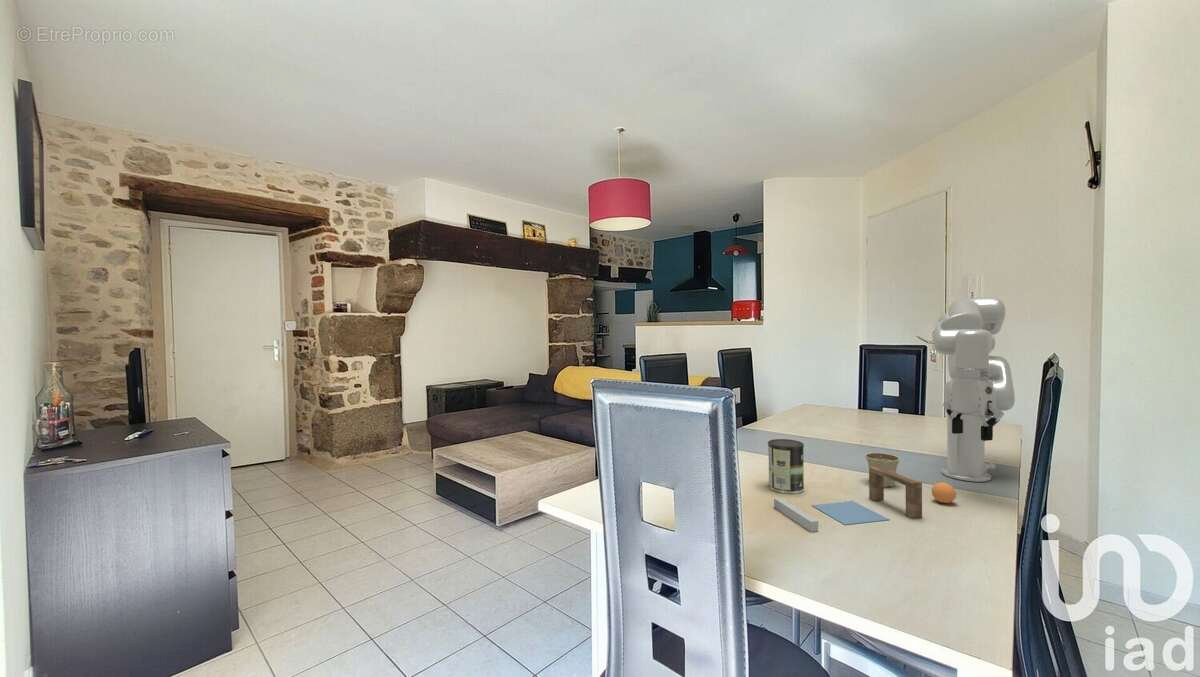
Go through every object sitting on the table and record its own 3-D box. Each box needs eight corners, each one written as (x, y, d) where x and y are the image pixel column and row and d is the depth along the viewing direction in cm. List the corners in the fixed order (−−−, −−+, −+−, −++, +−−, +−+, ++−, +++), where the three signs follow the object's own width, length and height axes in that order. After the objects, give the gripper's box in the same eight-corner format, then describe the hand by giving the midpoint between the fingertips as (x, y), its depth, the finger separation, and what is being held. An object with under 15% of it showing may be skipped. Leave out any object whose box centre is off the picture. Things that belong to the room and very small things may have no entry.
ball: (942, 498, 133) (942, 479, 133) (961, 505, 128) (961, 485, 128) (926, 499, 132) (926, 480, 132) (944, 507, 127) (944, 487, 127)
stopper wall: (780, 506, 129) (780, 497, 129) (818, 531, 114) (818, 520, 114) (774, 507, 129) (774, 498, 129) (810, 531, 113) (810, 521, 113)
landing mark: (852, 501, 132) (852, 500, 132) (889, 520, 119) (889, 519, 119) (811, 505, 129) (811, 505, 129) (844, 525, 117) (844, 524, 117)
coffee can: (800, 483, 148) (799, 439, 148) (807, 494, 138) (807, 447, 138) (765, 481, 150) (765, 438, 150) (771, 493, 140) (770, 446, 140)
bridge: (878, 497, 134) (878, 466, 134) (922, 517, 120) (922, 482, 120) (869, 498, 134) (869, 466, 134) (912, 519, 120) (912, 483, 119)
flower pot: (869, 487, 143) (869, 459, 143) (861, 478, 152) (861, 451, 152) (904, 490, 140) (904, 461, 140) (894, 480, 149) (894, 453, 149)
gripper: (1015, 377, 123) (1015, 443, 124) (953, 371, 140) (953, 429, 141) (992, 378, 122) (991, 445, 122) (932, 372, 139) (932, 430, 139)
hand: (971, 436), depth 132 cm, fingers open, 7 cm apart
